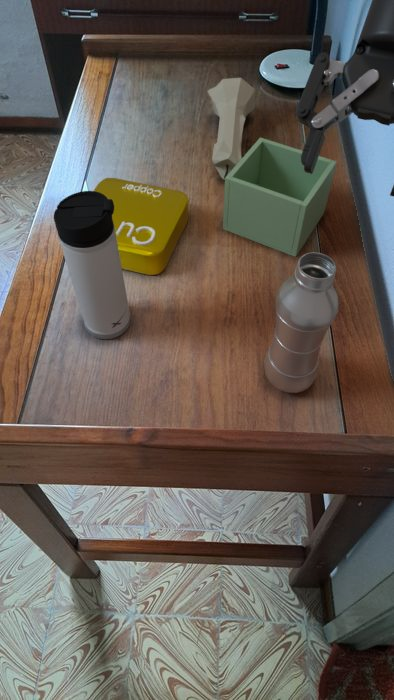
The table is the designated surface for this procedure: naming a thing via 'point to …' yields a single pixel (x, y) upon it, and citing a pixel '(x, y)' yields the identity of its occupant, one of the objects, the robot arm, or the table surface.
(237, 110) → the faceted club
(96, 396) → the table surface
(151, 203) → the element tile
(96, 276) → the travel mug
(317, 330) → the silver metal bottle
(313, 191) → the caddy
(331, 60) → the robot arm
